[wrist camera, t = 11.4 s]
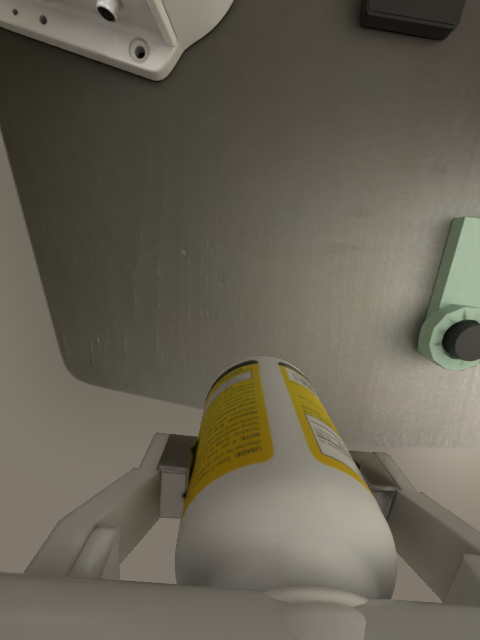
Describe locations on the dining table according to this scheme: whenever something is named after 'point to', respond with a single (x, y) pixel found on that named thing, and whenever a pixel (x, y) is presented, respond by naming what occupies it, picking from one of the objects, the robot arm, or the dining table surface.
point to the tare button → (463, 341)
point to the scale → (454, 293)
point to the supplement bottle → (282, 504)
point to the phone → (413, 16)
